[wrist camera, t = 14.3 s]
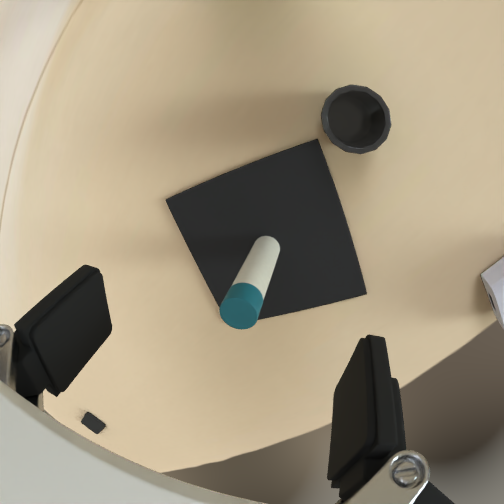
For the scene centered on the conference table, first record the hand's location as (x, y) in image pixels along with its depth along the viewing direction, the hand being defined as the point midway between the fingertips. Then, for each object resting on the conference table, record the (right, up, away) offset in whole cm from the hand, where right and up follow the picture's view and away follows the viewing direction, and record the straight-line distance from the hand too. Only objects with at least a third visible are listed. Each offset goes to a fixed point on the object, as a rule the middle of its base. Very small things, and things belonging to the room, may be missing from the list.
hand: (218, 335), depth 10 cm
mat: (+3, +4, +27) cm, 28 cm away
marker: (+3, +3, +27) cm, 27 cm away
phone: (-52, -54, +68) cm, 101 cm away
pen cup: (+11, +17, +19) cm, 28 cm away
